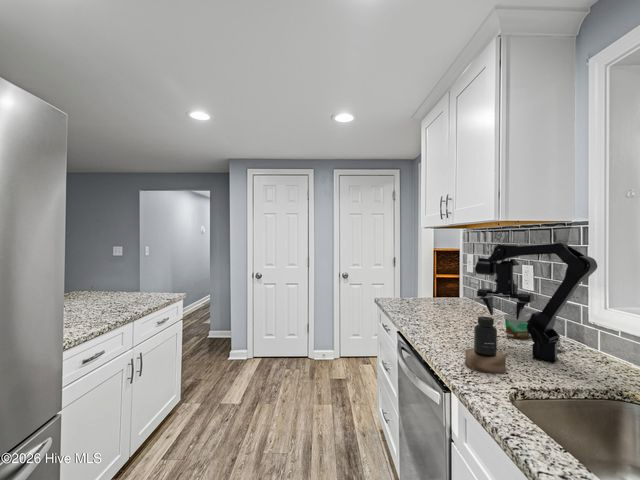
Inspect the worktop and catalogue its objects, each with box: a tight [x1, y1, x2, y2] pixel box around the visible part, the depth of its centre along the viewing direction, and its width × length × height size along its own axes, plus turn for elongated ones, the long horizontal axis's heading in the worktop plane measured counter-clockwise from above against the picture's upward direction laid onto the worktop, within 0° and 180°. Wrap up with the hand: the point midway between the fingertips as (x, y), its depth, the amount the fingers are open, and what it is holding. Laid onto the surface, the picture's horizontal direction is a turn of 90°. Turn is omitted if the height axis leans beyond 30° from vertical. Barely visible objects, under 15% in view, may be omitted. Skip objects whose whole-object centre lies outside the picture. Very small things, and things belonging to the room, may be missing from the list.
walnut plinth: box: [464, 347, 507, 374], centre depth 113 cm, size 12×12×4 cm
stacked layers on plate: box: [555, 335, 562, 349], centre depth 129 cm, size 10×9×6 cm
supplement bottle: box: [473, 316, 498, 357], centre depth 113 cm, size 7×7×12 cm
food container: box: [503, 312, 532, 340], centre depth 145 cm, size 12×6×10 cm, turn 105°
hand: (504, 317), depth 131 cm, fingers open, 9 cm apart
